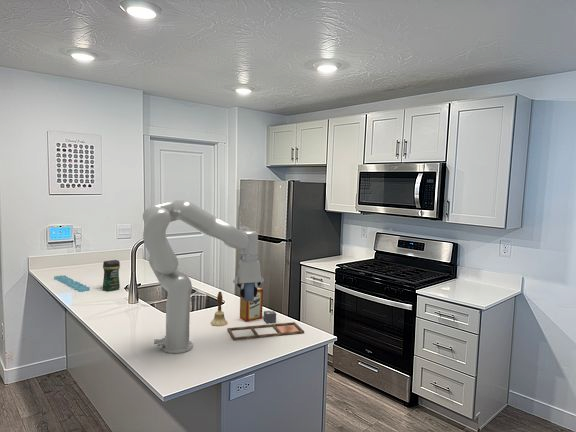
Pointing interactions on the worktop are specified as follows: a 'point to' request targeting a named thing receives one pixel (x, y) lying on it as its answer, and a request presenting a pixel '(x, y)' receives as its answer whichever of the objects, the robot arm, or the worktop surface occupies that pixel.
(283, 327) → the board
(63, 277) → the letter sign
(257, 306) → the baking soda box
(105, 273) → the coffee jar
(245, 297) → the blue cylinder
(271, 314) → the die
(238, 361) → the worktop surface
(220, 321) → the hand bell
